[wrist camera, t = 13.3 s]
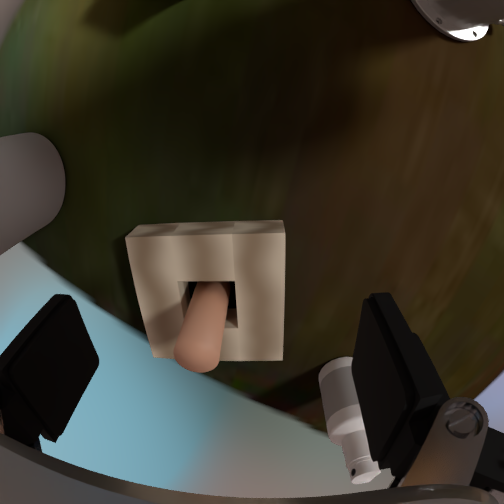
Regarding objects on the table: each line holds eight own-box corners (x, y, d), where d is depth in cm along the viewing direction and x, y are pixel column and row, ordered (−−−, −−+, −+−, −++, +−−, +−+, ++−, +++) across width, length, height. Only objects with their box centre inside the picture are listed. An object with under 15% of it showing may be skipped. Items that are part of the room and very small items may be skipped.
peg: (229, 271, 35) (216, 339, 24) (231, 301, 37) (221, 373, 26) (195, 272, 35) (169, 337, 24) (199, 301, 37) (177, 371, 26)
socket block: (282, 220, 33) (285, 233, 29) (280, 339, 39) (282, 360, 35) (138, 224, 33) (125, 237, 30) (161, 338, 40) (153, 357, 36)
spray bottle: (331, 351, 40) (358, 464, 23) (371, 360, 41) (407, 462, 24) (310, 383, 42) (324, 489, 26) (348, 390, 43) (372, 488, 27)
